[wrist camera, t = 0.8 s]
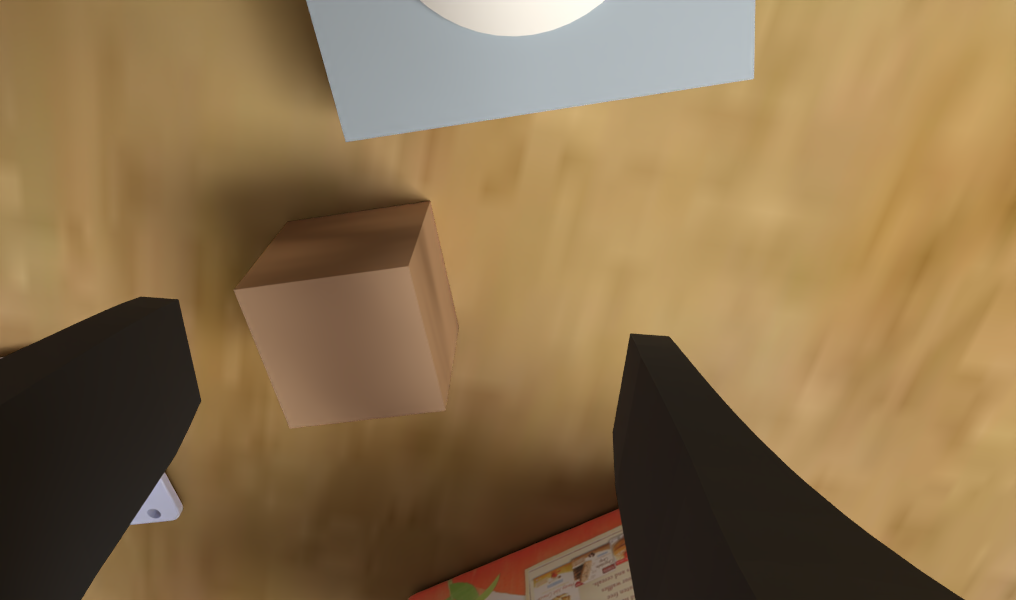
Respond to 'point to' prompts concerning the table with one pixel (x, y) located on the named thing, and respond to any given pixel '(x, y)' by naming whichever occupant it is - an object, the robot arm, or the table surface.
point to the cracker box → (551, 569)
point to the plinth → (518, 56)
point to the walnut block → (354, 316)
